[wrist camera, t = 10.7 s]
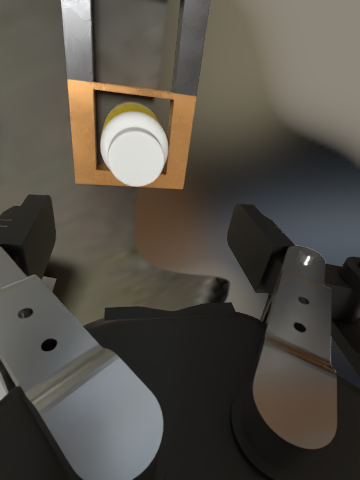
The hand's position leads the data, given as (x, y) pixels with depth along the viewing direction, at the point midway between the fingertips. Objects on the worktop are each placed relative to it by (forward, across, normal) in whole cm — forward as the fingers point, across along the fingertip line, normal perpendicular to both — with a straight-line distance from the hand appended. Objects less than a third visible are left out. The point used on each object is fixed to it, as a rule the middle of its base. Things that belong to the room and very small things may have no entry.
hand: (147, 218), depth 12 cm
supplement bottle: (+19, 0, 0) cm, 19 cm away
